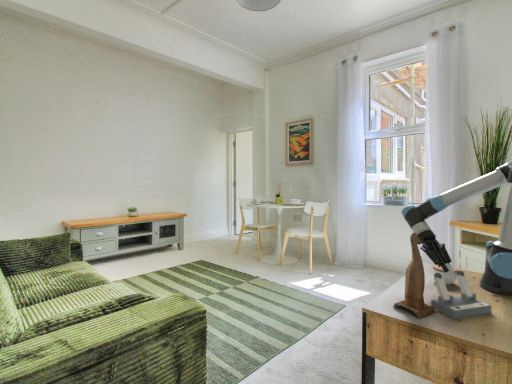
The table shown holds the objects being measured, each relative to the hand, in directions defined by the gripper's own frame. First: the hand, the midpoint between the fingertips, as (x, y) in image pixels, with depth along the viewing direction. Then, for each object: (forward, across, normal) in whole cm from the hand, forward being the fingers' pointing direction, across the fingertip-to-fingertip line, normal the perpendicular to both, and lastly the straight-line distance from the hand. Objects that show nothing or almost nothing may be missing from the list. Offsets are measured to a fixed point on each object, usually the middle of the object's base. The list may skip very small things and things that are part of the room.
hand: (453, 278), depth 121 cm
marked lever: (+9, 0, +1) cm, 9 cm away
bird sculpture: (+10, +24, -4) cm, 26 cm away
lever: (+9, +12, +1) cm, 15 cm away
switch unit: (+13, +6, -1) cm, 14 cm away
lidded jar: (-5, -15, -19) cm, 25 cm away
